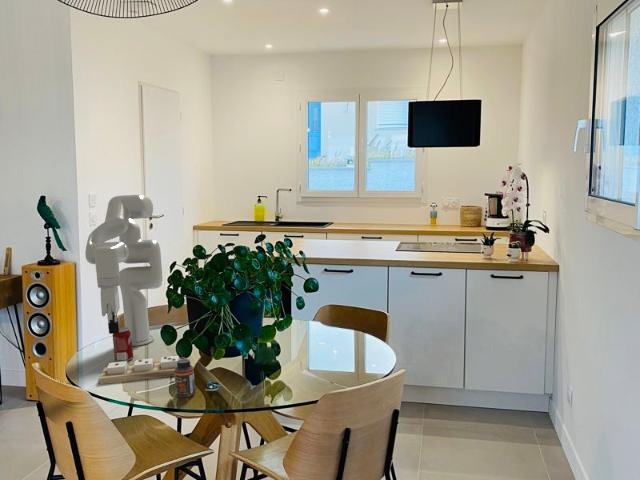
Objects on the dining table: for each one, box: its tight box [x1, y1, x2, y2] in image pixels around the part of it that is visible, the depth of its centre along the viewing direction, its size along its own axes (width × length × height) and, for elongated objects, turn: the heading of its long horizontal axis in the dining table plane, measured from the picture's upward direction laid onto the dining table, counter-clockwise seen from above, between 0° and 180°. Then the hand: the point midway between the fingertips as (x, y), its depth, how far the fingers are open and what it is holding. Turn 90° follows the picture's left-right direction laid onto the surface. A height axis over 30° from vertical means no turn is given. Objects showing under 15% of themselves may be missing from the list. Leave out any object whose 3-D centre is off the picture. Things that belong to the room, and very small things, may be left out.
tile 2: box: [134, 357, 154, 372], centre depth 217 cm, size 6×6×4 cm
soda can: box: [112, 326, 134, 362], centre depth 232 cm, size 7×7×12 cm
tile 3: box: [160, 355, 180, 369], centre depth 218 cm, size 6×6×4 cm
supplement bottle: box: [174, 358, 196, 399], centre depth 194 cm, size 6×6×11 cm
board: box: [99, 357, 181, 385], centre depth 217 cm, size 13×28×2 cm, turn 101°
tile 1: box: [107, 361, 128, 375], centre depth 215 cm, size 6×6×4 cm
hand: (114, 332), depth 214 cm, fingers closed
